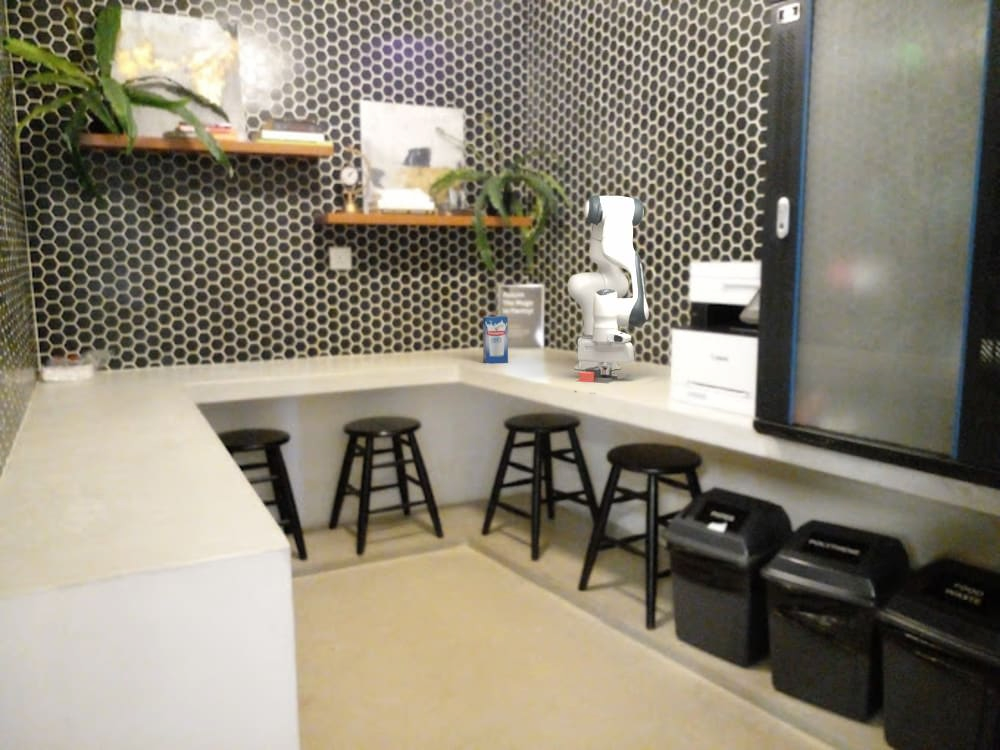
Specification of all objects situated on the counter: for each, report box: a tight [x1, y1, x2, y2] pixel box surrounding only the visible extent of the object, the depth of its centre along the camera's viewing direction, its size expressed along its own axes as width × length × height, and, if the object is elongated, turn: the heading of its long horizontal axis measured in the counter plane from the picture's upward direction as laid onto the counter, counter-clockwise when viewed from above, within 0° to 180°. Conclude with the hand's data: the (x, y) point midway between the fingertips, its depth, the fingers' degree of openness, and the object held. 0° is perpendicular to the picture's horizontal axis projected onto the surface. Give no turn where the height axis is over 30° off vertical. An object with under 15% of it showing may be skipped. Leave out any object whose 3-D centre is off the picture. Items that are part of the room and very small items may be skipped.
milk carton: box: [482, 315, 509, 364], centre depth 329 cm, size 10×6×20 cm, turn 101°
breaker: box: [584, 367, 603, 378], centre depth 268 cm, size 5×5×4 cm
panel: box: [576, 366, 629, 384], centre depth 270 cm, size 22×12×5 cm, turn 151°
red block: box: [578, 371, 594, 383], centre depth 263 cm, size 4×4×3 cm
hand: (604, 374), depth 266 cm, fingers closed
